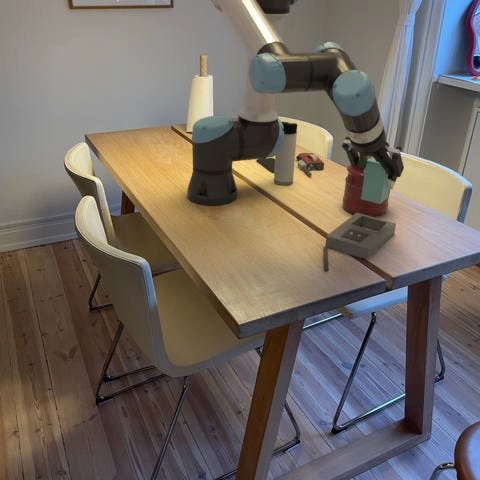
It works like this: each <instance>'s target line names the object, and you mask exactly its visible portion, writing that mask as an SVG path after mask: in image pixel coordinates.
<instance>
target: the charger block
mask: <svg viewBox="0 0 480 480" xmlns="http://www.w3.org/2000/svg"><path fill="white" fill-rule="evenodd" d="M386 175H387V173H386V171H385V170H384V168H383V167H382V166H381V164H380V163H379V162H376V160H375V159H374V158H373V157H372V158H370V159H369V160H367V162H366V169H365V175H364V182H363V189H362V196H361V199H363V200H366V201H370V202H374V203H378V204H381V203H382V202H383V201H384V200H386V199H387V198H388V192H389V186H388V182H387V179H386Z"/></svg>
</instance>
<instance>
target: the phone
mask: <svg viewBox="0 0 480 480" xmlns="http://www.w3.org/2000/svg"><path fill="white" fill-rule="evenodd" d="M255 160H256V161H255V162H256V163H258V165H260V166H261V167H263V168H264V169H266V170H267V171H268V172H270V173H271V174H274V171H275V157H269V158H265V159H255Z"/></svg>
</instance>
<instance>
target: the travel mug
mask: <svg viewBox="0 0 480 480" xmlns="http://www.w3.org/2000/svg"><path fill="white" fill-rule="evenodd" d="M281 122H282V124H283V127H284V129H283V131H284V141H283V145H282V147H281V150H280V151H279V153H278V154H276V155H275V156H274V159H275V171H274V173H273V182H274V183H275V184H277V185H279V186H280V185H281V186H290V185H292V184H293V183H294V172H295V161H296V149H297V136H298V135H297V134H298V123H295V122H293V123H291V122H289V121H281Z"/></svg>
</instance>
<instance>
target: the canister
mask: <svg viewBox="0 0 480 480" xmlns="http://www.w3.org/2000/svg"><path fill="white" fill-rule="evenodd" d="M358 155H360V154H359V153H358ZM370 158H372V157H371V156H368V158H367V159H368V160H369V159H370ZM359 160H360V159H359ZM346 171H347V176H346V177H345V184H344V193H343V196H342V208H343V209H344V210H345V211H347V212H348V213H351V214H353V215H354V214H355V213H360V214H364V215H367V216H371V217H378V216H383V215H384V214H385V213H386V212H387V209H388V207H389V198H390V194H391V193H390V192H391V189H389V192H388V198H387V199H386V200H384V201H383V202H382V203H381V204H378V203H374V202H370V201H366V200H363V199H361V196H362V189H363V182H364V175H363V174H362V172H361V170H360V169H359V167H357V166H356V167H352V166H351V164H350V163H349V164H348V165H347V167H346Z"/></svg>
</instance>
